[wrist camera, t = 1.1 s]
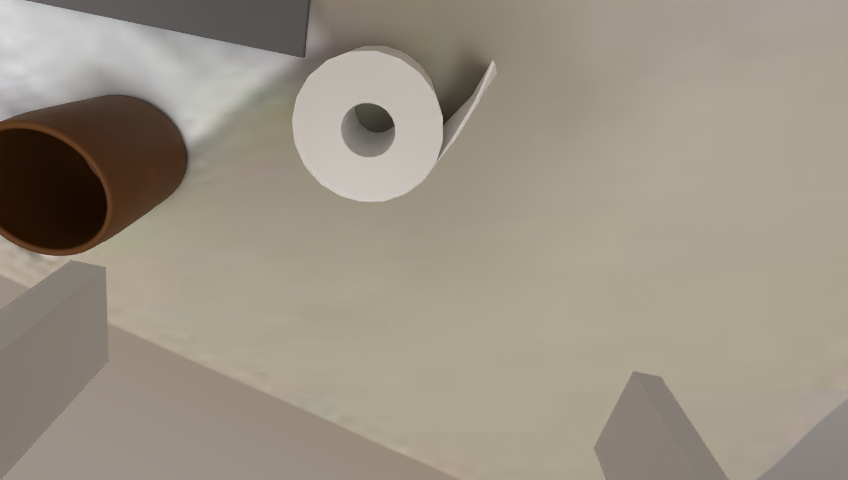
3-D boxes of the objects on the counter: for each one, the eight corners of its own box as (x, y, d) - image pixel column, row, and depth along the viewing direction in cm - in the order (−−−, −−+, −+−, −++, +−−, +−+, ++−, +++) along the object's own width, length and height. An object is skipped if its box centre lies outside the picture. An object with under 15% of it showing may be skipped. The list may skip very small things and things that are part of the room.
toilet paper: (497, 73, 32) (516, 85, 26) (382, 192, 36) (375, 229, 29) (404, -25, 30) (402, -38, 24) (290, 112, 33) (261, 133, 27)
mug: (6, 165, 34) (-131, 213, 26) (6, 54, 31) (-149, 65, 23) (183, 215, 36) (109, 275, 27) (197, 113, 33) (120, 145, 24)
